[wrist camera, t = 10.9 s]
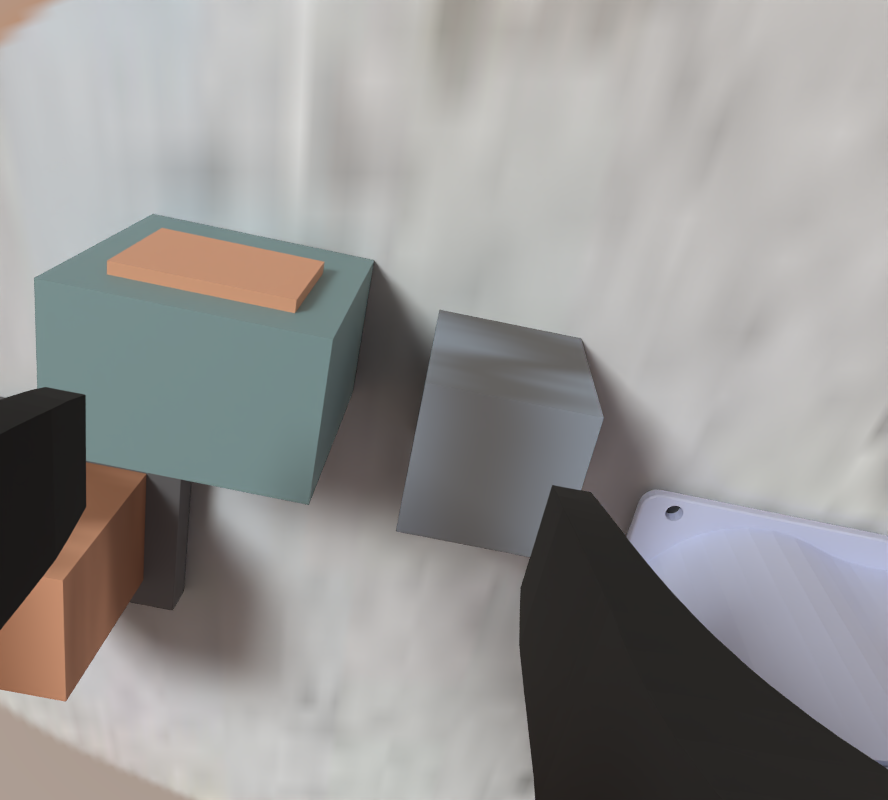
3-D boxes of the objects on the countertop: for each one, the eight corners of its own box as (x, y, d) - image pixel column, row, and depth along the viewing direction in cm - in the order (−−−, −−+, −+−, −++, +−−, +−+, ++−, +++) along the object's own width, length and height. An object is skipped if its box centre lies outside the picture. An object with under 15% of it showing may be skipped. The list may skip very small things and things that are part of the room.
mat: (194, 436, 24) (182, 451, 23) (183, 590, 26) (172, 610, 25) (-4, 395, 24) (-24, 410, 23) (5, 555, 26) (-13, 574, 25)
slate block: (580, 338, 22) (603, 418, 17) (545, 460, 24) (558, 562, 19) (439, 309, 22) (425, 382, 17) (414, 434, 23) (395, 531, 19)
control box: (375, 249, 21) (334, 325, 16) (349, 410, 23) (305, 526, 18) (153, 202, 21) (33, 263, 15) (147, 369, 23) (39, 474, 18)
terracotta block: (146, 473, 23) (62, 580, 19) (143, 580, 25) (65, 701, 20) (11, 447, 23) (-106, 549, 19) (17, 556, 25) (-88, 673, 20)
